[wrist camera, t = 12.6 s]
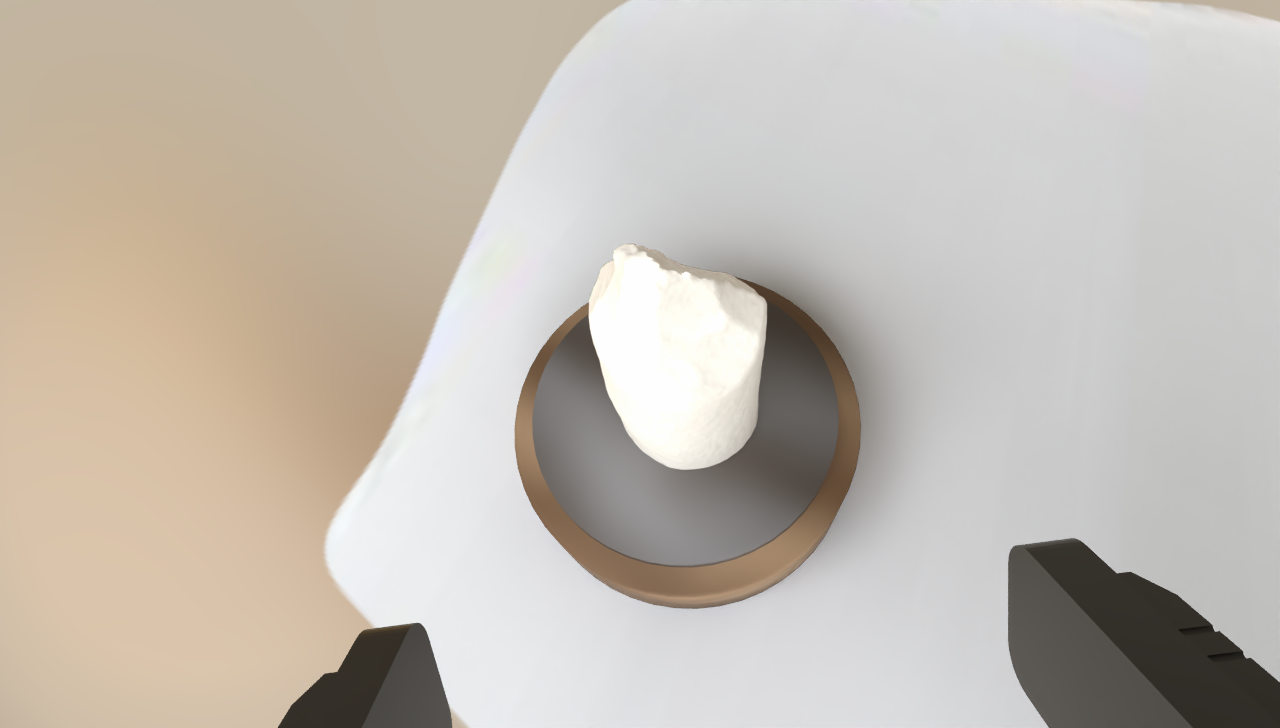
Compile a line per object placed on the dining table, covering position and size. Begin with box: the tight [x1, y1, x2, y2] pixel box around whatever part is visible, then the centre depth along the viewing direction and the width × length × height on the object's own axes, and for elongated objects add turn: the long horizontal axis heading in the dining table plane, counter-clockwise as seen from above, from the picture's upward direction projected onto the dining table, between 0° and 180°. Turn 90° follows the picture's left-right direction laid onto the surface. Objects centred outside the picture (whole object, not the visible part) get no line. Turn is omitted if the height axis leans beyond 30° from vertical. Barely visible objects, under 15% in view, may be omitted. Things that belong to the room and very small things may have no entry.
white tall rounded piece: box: [589, 244, 767, 470], centre depth 25 cm, size 6×12×6 cm
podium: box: [515, 277, 861, 609], centre depth 32 cm, size 15×15×5 cm
